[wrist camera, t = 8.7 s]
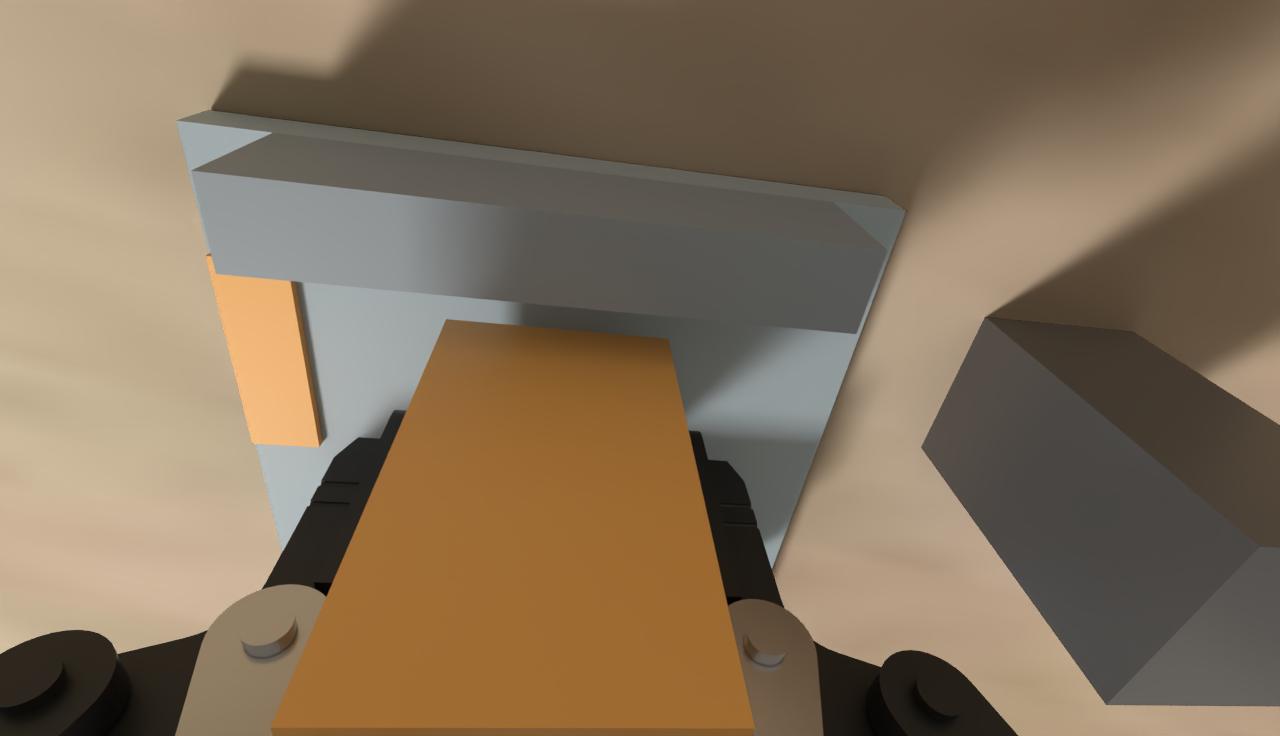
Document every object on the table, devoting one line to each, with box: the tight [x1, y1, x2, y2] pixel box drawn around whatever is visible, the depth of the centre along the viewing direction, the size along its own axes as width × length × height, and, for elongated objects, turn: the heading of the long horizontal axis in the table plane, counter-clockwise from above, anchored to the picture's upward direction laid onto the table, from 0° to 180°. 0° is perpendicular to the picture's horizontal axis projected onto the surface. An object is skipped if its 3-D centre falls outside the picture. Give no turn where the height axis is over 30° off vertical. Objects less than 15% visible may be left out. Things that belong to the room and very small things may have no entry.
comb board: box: [176, 110, 906, 569], centre depth 15 cm, size 13×18×4 cm
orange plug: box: [270, 319, 755, 736], centre depth 9 cm, size 4×4×7 cm
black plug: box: [921, 317, 1280, 706], centre depth 13 cm, size 4×4×7 cm
